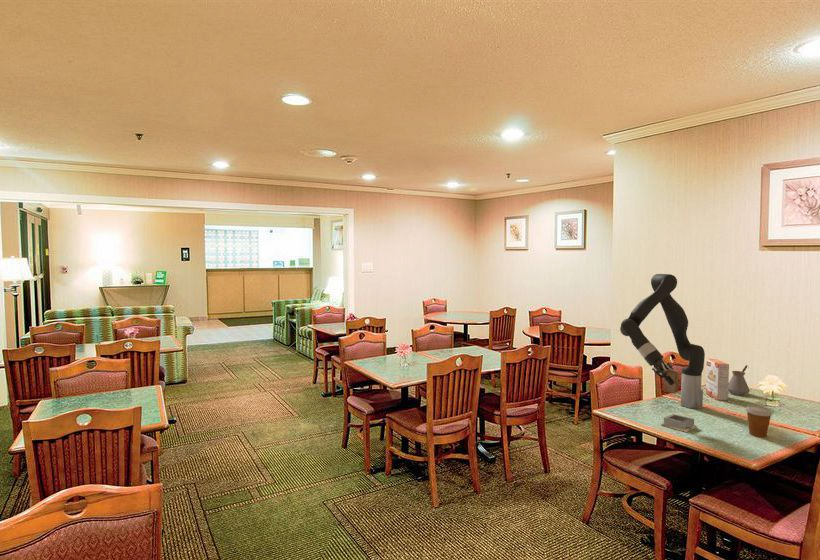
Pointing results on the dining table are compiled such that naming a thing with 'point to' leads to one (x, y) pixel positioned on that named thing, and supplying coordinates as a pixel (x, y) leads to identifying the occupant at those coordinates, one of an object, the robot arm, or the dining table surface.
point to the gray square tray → (679, 422)
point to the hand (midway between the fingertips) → (675, 383)
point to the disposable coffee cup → (758, 420)
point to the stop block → (674, 377)
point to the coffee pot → (738, 383)
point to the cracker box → (717, 379)
